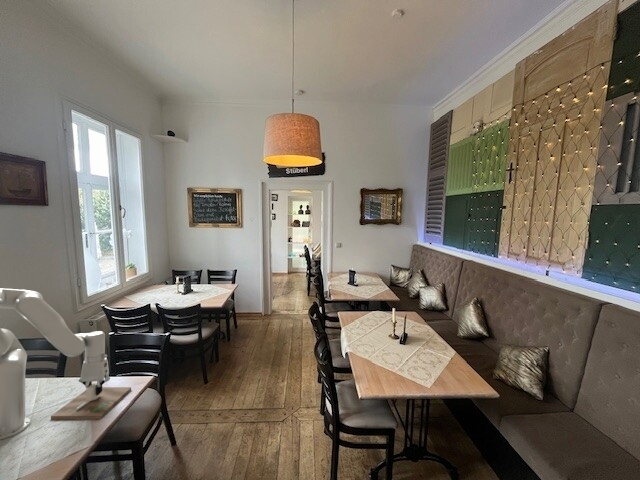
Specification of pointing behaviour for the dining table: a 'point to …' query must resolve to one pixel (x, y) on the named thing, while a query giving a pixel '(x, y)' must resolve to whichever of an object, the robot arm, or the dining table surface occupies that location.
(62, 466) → the dining table surface
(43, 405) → the dining table surface
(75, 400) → the panel
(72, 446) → the dining table surface
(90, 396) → the peg knob
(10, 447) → the dining table surface
